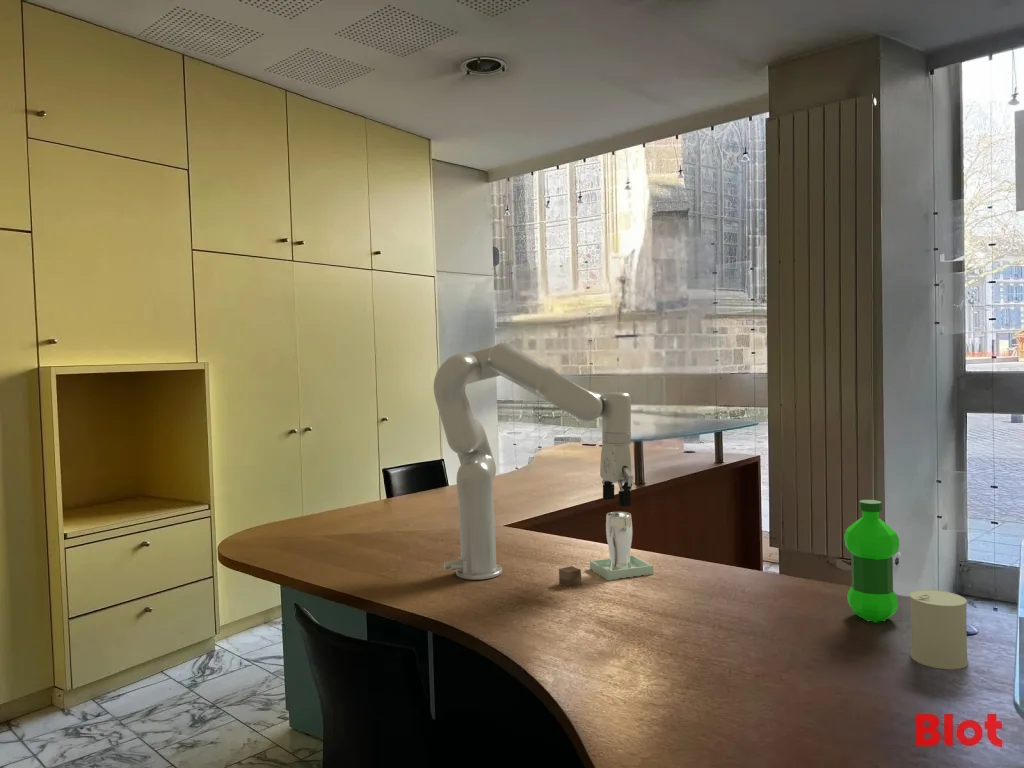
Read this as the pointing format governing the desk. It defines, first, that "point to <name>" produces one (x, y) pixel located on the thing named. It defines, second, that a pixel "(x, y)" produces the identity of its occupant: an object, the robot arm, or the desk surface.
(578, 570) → the walnut block
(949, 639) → the can
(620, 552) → the beer glass
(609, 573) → the tray
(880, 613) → the plastic bottle
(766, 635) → the desk surface
